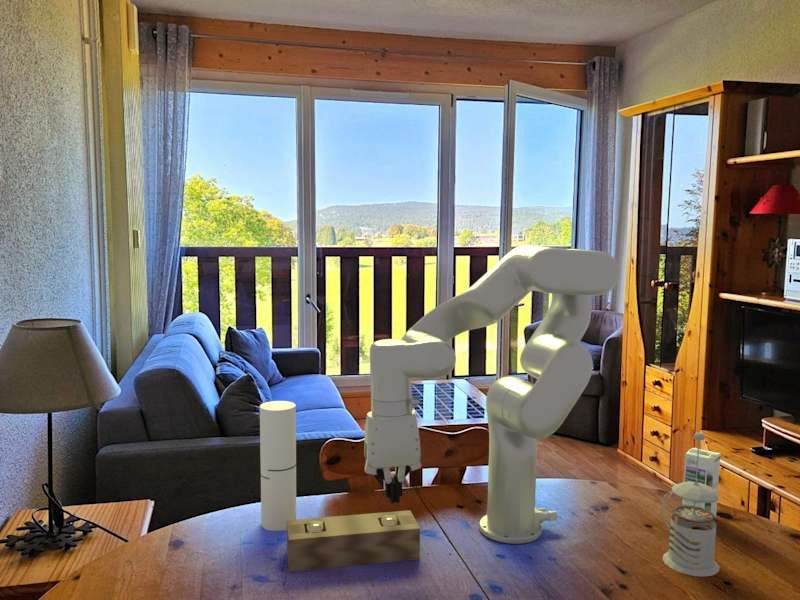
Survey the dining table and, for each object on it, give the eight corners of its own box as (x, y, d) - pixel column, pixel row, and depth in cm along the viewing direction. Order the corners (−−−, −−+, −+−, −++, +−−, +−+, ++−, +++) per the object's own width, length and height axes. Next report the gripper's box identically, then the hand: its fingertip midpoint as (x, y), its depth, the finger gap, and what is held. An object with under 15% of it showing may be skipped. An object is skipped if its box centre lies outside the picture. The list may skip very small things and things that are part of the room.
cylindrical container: (289, 532, 138) (288, 411, 134) (255, 529, 139) (254, 409, 136) (301, 517, 144) (300, 402, 141) (269, 514, 146) (268, 399, 143)
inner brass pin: (395, 543, 132) (395, 514, 131) (398, 551, 129) (398, 520, 128) (379, 545, 131) (380, 515, 131) (382, 552, 129) (383, 522, 128)
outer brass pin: (322, 550, 129) (322, 520, 128) (324, 558, 126) (324, 527, 126) (306, 551, 129) (306, 521, 128) (307, 559, 126) (307, 528, 125)
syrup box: (680, 518, 146) (684, 452, 145) (689, 509, 151) (693, 445, 149) (708, 526, 143) (712, 459, 141) (716, 517, 147) (721, 451, 145)
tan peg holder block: (409, 539, 135) (410, 510, 135) (419, 559, 128) (420, 528, 127) (286, 550, 130) (286, 520, 130) (289, 571, 123) (288, 539, 122)
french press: (694, 581, 121) (703, 444, 118) (643, 552, 131) (650, 425, 128) (731, 568, 125) (741, 436, 122) (679, 542, 136) (687, 419, 133)
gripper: (425, 397, 132) (427, 488, 135) (348, 404, 129) (351, 496, 132) (435, 408, 125) (437, 504, 127) (354, 415, 122) (357, 513, 124)
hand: (393, 500), depth 130 cm, fingers closed
